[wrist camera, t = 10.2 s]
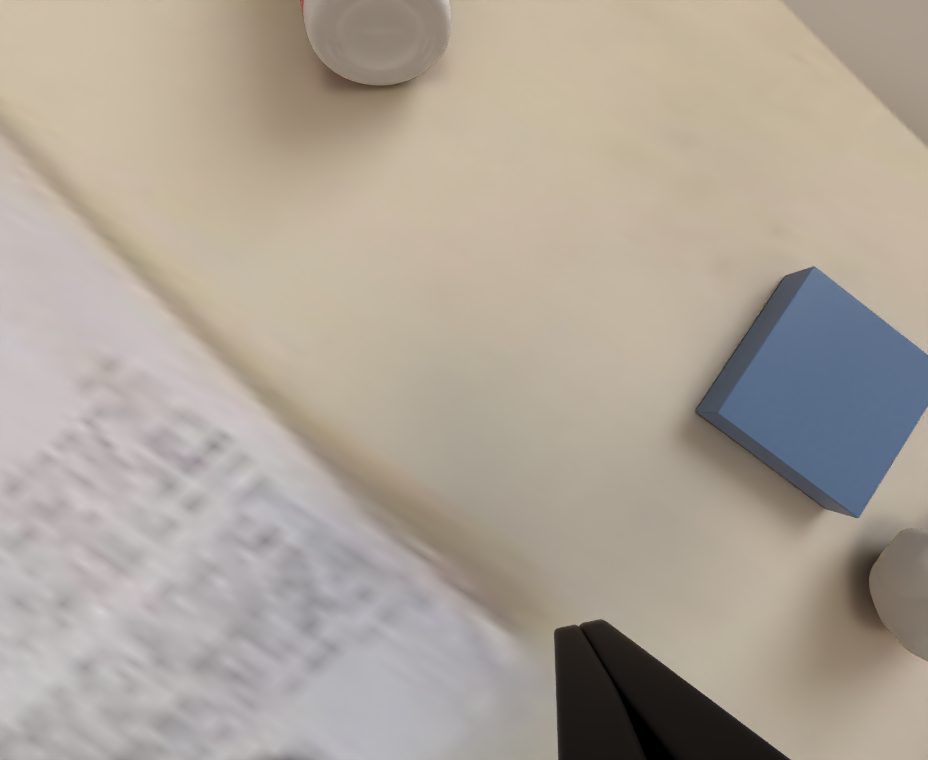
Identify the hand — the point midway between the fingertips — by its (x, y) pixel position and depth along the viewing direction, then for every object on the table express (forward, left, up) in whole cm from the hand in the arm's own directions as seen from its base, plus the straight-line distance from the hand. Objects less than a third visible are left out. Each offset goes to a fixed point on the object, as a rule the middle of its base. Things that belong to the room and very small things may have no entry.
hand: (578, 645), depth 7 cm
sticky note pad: (+14, -7, -11) cm, 19 cm away
